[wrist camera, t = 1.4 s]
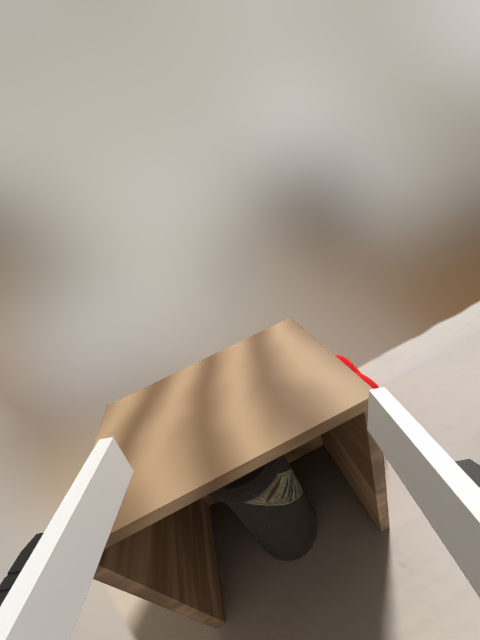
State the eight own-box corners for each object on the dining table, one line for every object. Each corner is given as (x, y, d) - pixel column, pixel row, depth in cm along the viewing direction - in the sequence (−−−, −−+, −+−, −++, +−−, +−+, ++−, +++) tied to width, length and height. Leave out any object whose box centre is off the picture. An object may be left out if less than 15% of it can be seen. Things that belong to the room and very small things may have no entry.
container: (328, 560, 27) (286, 484, 18) (257, 570, 29) (183, 504, 19) (308, 480, 35) (271, 396, 25) (252, 491, 36) (198, 415, 27)
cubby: (325, 435, 39) (290, 317, 27) (389, 527, 28) (378, 392, 16) (202, 501, 38) (106, 406, 26) (215, 627, 26) (54, 563, 14)
